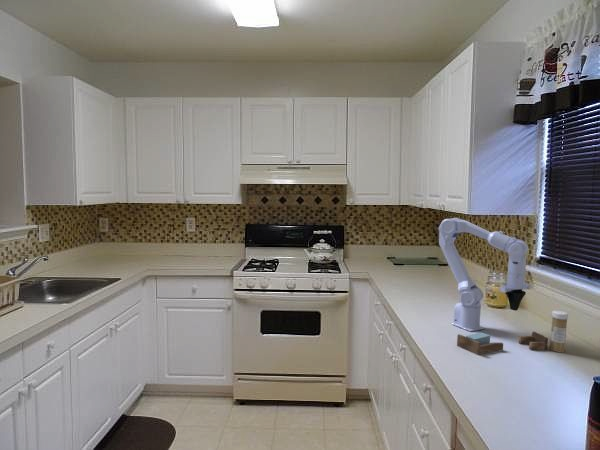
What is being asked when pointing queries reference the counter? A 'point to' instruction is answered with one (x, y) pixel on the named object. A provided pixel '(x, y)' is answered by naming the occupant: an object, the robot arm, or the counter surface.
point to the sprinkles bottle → (558, 330)
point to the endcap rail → (477, 345)
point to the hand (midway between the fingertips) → (514, 309)
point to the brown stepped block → (534, 341)
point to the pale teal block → (480, 338)
